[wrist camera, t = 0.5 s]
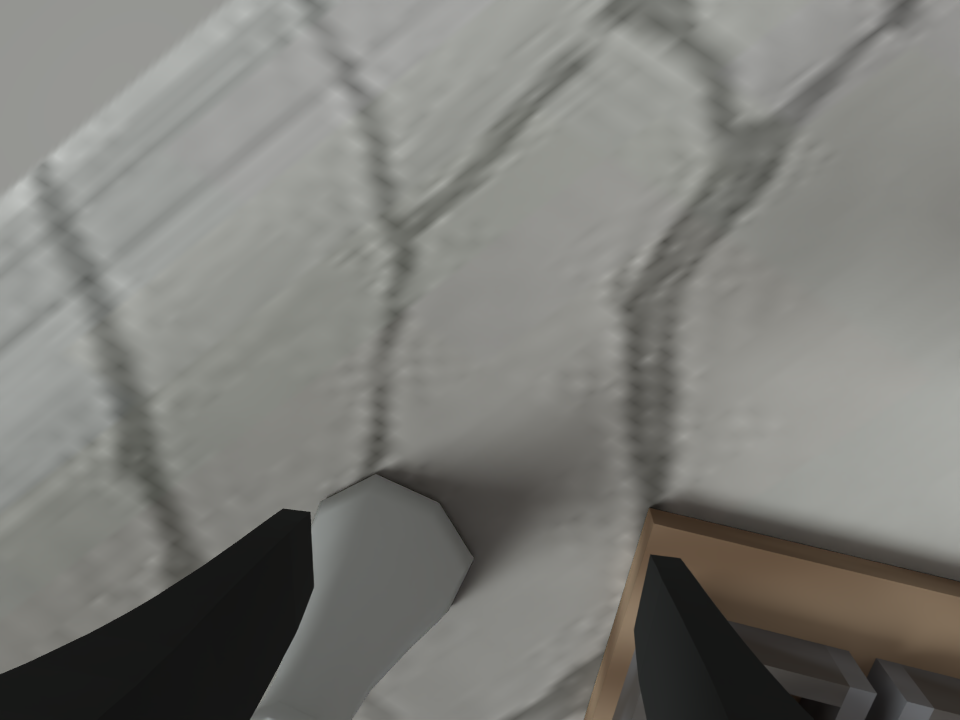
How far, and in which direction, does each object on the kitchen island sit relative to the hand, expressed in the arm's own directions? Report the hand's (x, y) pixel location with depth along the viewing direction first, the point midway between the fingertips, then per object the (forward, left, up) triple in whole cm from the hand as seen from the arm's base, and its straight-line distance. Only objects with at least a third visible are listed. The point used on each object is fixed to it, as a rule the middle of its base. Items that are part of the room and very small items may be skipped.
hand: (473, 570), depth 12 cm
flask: (-8, +4, -11) cm, 14 cm away
